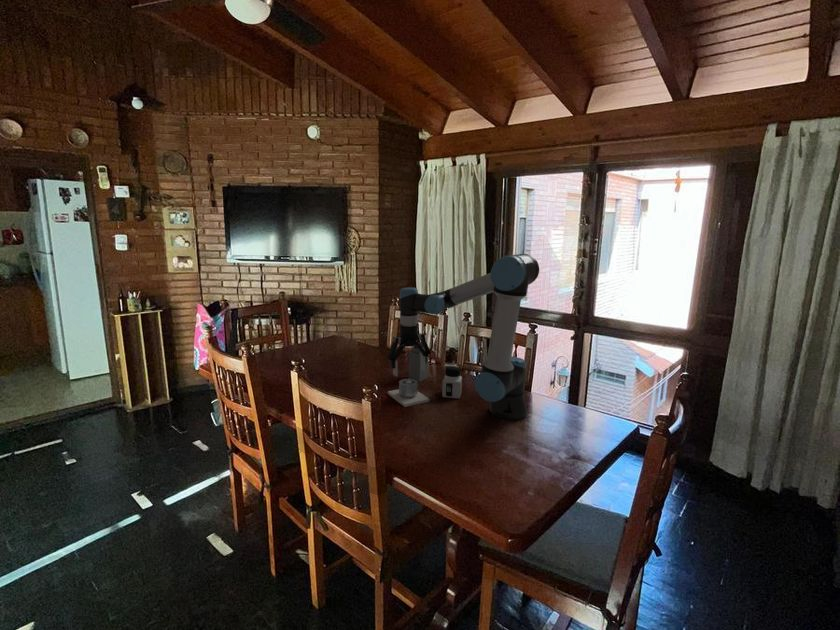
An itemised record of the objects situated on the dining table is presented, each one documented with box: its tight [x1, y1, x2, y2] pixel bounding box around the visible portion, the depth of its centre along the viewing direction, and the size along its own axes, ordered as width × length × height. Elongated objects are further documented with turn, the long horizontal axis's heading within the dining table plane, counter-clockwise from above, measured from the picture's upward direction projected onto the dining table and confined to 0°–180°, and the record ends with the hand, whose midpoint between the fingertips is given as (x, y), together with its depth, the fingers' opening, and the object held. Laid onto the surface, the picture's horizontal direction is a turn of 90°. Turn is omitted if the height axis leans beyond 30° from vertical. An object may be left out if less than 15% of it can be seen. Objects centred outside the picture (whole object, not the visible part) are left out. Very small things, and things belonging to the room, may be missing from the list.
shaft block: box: [387, 381, 430, 408], centre depth 191 cm, size 16×12×7 cm
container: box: [441, 365, 463, 399], centre depth 195 cm, size 8×8×13 cm
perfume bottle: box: [408, 341, 429, 383], centre depth 214 cm, size 7×7×18 cm
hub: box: [398, 378, 419, 396], centre depth 191 cm, size 8×8×5 cm
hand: (409, 372), depth 189 cm, fingers open, 13 cm apart
